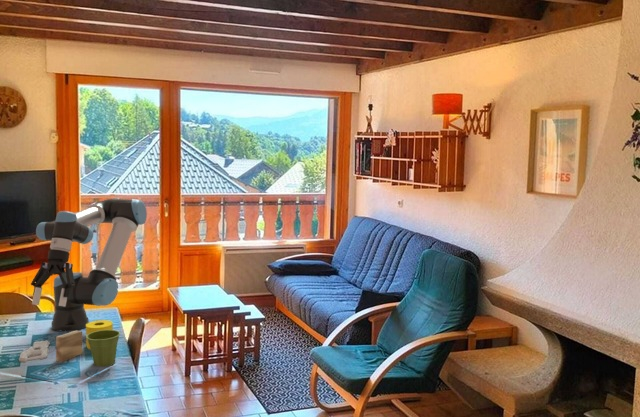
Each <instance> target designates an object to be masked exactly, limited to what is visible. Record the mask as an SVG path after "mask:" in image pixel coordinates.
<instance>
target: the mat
mask: <svg viewBox="0 0 640 417" xmlns="http://www.w3.org/2000/svg"><path fill="white" fill-rule="evenodd" d="M20 377H22V378H25V379H27V378H28V379H32V380H38V381H43V382H47V383H54V381H51V380H48V379H47V380H46V379H41V378H36V377H32V376H31V377H30V376H27V375H20Z"/></svg>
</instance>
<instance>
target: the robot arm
mask: <svg viewBox="0 0 640 417" xmlns="http://www.w3.org/2000/svg"><path fill="white" fill-rule="evenodd" d="M147 215H148V212H147V206H146V205H145V203H144V201H142V200H141V199H136V198H132V199H131V198H129V199H128V198H109V199H104V200H101V201H98V202H95V203H93V204H90V205H89V206H87V208H85V209H81V210H80V211H77V212H72V211H67V210H63V211H62V210H61V211H59V212H57V213H56V217H55V220H53V221H42V222H40V223H38V224H37V225H36V229H35V235H36V238H38V239H39V240H42V241H46V242H47V241H49V242H50V246H49V249H50V250H48V255H47V259H48V262H44V261H42V262H41V264H40V267H39V269H38V270H37V272H36V274H35V275H34V278H33V279H32V281H31V283H30V286H33V287H34V289H33V293H32V296H33V297H32V302H31V305H35V306H39V305H40V301H41V295H42V294H43V293H42V292H43V285H44V284H45V283H46V282H47V281H48V280H49V278H50V277H52V276H53V275H55V276H56V275H58V276H56V277H55V278H54V280H53V293H54V294H53V296H54V313H53V318H52V320H51V329H52V330H53V331H57V332H73V331H80V330H82V329H86V324H87V323H89V322H90V321H89V317H88V315H87V313H86V309H85V307H84V306H85V305H87V306H96V307H100V306H104V307H105V306H109V305H111V304H112V303H113V302H114V301H115V300H116V298H117V297H118V292H119V284H118V280H117V277H116V273H117V270H118V268H119V265H120V262H121V261H122V258H123V255H124V253H125V250H126V247H127V245H128V243H129V240H130V238H131V236H132V233H135V231H137V230H138V226H139V225H143V224H145V223H146V221H147V218H148V217H147ZM101 224H112V225H113V226H112V229H111V231H110V233H109V236H108V238H107V240H106V243H105V245H104V247H103V250H102V252H101V255H100V257H99V259H98V262H97V263H96V266H95V268H93V269H91V270H90V271H89V274H88V276H84V275H83V273H82V272H73V263H70V262H68V261H69V260H70V252H71V249H72V243H73V242H74V243H78V244H82V245H87V244H88V243H90V242H92V240H93V239H94V230H93V229H92V228H91V227H90V226H92V225H101Z"/></svg>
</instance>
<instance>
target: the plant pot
mask: <svg viewBox="0 0 640 417" xmlns="http://www.w3.org/2000/svg"><path fill="white" fill-rule="evenodd" d="M120 335H121V332H120V331H119V330H116V329H113V330H100V331H95V332H92V333H89V334H88V335H86V334H85V338H87V339H88V342H89V344H90V348H91V349H90V351H91V352H90V353H91V358H92V361H93V365H94V366H96V367H106V366H109V367H110V366H113V365H114V363H116V356H117V348H118V342H119V338H120Z"/></svg>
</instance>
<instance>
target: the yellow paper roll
mask: <svg viewBox="0 0 640 417" xmlns="http://www.w3.org/2000/svg"><path fill="white" fill-rule="evenodd" d="M113 324H114V322H113V321H111V320H107V319H101V320H99V319H98V320H92V321H89V323H87V324H86V327H85V336H86V335H88V334H89V333H92V332H95V331H100V330H114V325H113ZM85 338H86V337H85ZM86 348H87V349H88V350H91V348H90V344H89V342H88V339H87V338H86Z"/></svg>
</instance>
